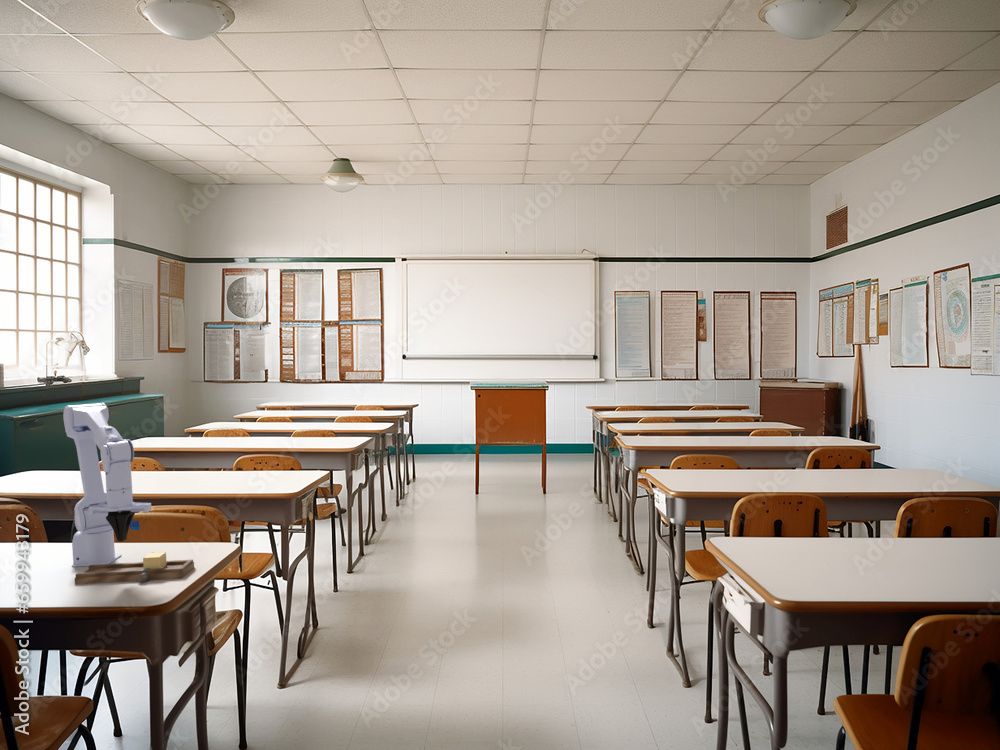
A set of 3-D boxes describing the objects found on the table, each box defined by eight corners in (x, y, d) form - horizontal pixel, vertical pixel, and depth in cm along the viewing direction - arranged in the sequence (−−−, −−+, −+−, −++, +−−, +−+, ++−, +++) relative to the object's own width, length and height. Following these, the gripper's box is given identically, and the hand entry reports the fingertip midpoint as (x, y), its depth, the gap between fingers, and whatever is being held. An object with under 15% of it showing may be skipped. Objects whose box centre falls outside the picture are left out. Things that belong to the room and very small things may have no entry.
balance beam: (70, 586, 162) (70, 576, 162) (95, 570, 174) (95, 561, 173) (179, 580, 164) (178, 570, 164) (196, 565, 176) (196, 555, 176)
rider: (143, 571, 167) (143, 557, 167) (150, 566, 171) (150, 552, 171) (159, 570, 167) (159, 557, 167) (166, 565, 171) (165, 552, 171)
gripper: (80, 492, 163) (84, 546, 164) (141, 490, 164) (144, 543, 165) (95, 486, 170) (98, 538, 171) (153, 484, 171) (156, 535, 172)
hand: (122, 540), depth 168 cm, fingers closed
